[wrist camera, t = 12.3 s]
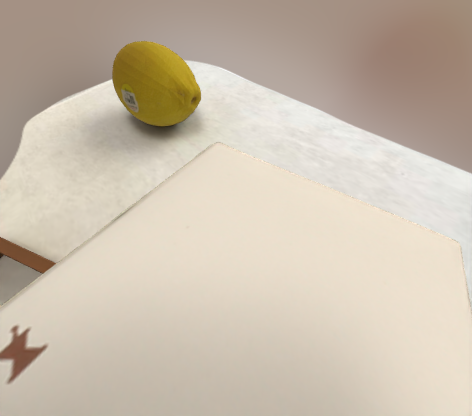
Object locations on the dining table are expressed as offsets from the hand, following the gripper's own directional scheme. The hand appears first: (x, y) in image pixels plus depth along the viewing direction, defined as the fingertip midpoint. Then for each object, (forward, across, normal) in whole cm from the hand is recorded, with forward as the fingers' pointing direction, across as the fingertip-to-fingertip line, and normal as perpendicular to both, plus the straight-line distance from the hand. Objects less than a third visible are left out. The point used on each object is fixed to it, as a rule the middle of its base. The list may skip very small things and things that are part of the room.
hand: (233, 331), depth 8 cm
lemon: (+22, +10, -10) cm, 27 cm away
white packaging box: (+4, 0, +6) cm, 7 cm away
